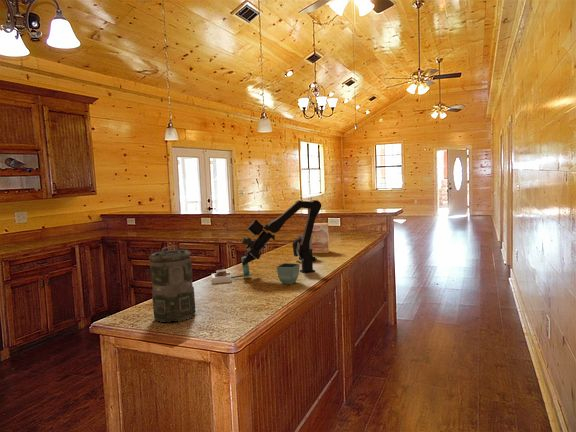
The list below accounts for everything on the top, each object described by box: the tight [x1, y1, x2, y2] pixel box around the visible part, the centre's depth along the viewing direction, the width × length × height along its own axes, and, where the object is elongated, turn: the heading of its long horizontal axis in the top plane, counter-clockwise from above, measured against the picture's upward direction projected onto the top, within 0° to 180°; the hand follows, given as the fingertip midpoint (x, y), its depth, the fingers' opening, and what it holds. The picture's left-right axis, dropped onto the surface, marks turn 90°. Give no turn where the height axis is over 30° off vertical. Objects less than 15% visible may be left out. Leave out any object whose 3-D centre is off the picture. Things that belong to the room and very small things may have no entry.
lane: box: [211, 271, 232, 284], centre depth 223 cm, size 10×10×3 cm
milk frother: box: [292, 234, 318, 262], centre depth 264 cm, size 14×16×15 cm
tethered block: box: [215, 256, 252, 279], centre depth 224 cm, size 18×5×10 cm, turn 101°
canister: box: [148, 244, 197, 323], centre depth 166 cm, size 16×16×28 cm
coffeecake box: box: [304, 222, 330, 254], centre depth 287 cm, size 15×7×20 cm, turn 81°
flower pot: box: [276, 262, 300, 285], centre depth 209 cm, size 9×9×9 cm
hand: (242, 263), depth 225 cm, fingers closed on tethered block, 3 cm apart
